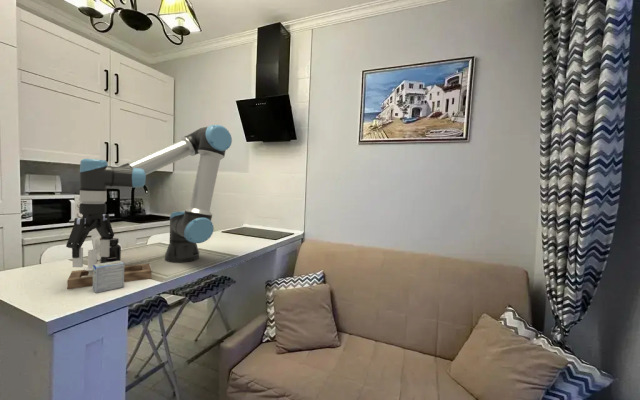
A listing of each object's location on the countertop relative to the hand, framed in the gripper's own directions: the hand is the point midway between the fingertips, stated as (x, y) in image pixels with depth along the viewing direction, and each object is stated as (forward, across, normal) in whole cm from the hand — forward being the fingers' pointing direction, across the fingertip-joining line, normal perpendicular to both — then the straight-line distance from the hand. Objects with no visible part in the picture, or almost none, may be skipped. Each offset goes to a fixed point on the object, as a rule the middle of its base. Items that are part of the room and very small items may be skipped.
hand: (92, 261), depth 100 cm
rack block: (+7, -3, +5) cm, 9 cm away
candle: (+7, 0, 0) cm, 7 cm away
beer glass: (+7, -29, -16) cm, 34 cm away
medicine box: (+8, +7, +10) cm, 14 cm away
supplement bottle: (+7, -17, -4) cm, 19 cm away
